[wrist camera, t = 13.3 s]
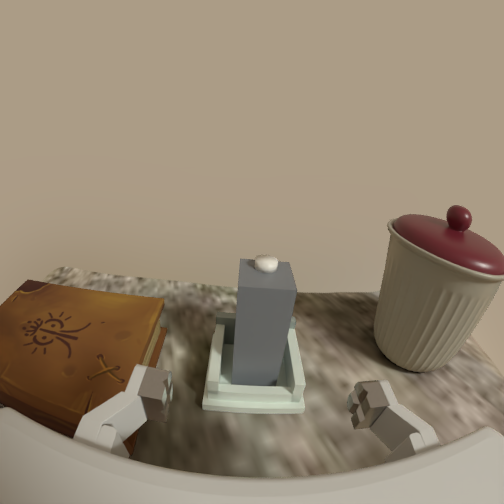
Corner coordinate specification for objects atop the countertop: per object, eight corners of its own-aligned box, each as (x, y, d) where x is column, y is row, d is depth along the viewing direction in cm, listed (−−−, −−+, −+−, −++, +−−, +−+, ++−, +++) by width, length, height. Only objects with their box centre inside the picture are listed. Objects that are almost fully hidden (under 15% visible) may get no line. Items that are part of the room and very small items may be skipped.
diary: (-23, 391, 16) (-45, 357, 13) (37, 311, 33) (27, 279, 30) (133, 459, 17) (114, 430, 15) (167, 333, 34) (163, 297, 32)
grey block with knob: (231, 384, 26) (238, 277, 21) (233, 352, 30) (240, 250, 25) (275, 386, 26) (298, 281, 21) (272, 354, 31) (290, 254, 26)
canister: (337, 315, 41) (369, 178, 32) (421, 309, 43) (457, 198, 34) (385, 406, 24) (470, 224, 16) (476, 375, 26) (541, 241, 18)
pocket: (202, 409, 24) (200, 379, 21) (213, 339, 34) (213, 307, 32) (302, 413, 24) (314, 384, 22) (291, 343, 34) (298, 313, 32)
